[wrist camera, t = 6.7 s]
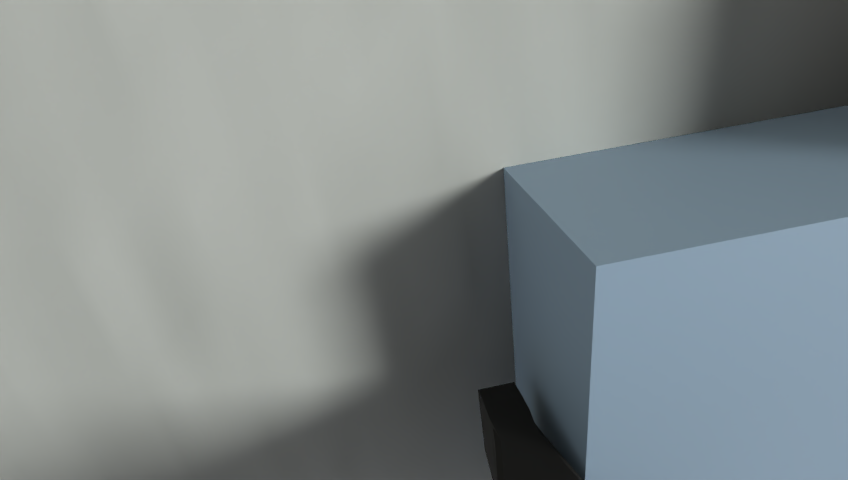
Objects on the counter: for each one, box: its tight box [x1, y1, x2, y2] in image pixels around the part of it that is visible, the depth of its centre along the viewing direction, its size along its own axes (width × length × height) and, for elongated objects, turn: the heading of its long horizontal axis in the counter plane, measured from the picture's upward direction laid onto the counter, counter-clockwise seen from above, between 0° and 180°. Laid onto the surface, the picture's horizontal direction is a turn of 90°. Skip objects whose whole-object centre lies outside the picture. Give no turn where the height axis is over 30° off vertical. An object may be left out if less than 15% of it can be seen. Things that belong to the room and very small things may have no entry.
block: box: [504, 105, 848, 480], centre depth 10 cm, size 8×10×4 cm
